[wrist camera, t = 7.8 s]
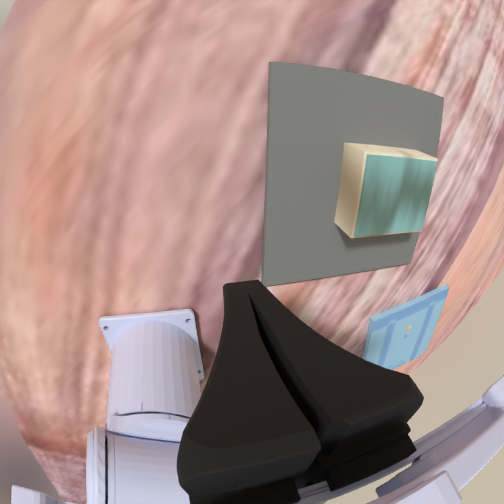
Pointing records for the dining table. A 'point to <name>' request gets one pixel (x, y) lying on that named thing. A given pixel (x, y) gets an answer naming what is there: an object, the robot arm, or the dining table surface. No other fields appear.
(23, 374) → the dining table surface
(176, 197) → the dining table surface
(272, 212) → the mat
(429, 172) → the beige and teal block
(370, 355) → the folded blue cloth
